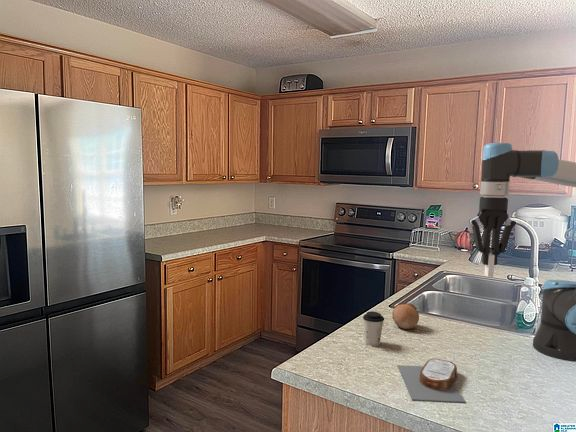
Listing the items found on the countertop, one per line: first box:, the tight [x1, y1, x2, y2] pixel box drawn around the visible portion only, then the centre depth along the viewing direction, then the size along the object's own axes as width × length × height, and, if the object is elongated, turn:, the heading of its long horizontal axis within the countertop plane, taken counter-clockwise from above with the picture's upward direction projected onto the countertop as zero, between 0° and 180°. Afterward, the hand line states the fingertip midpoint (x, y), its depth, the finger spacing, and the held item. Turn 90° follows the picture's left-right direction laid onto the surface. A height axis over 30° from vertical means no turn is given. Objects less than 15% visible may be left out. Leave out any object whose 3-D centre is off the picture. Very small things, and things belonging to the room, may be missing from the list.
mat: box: [397, 364, 466, 404], centre depth 116 cm, size 13×19×1 cm
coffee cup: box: [362, 310, 385, 347], centre depth 142 cm, size 7×7×10 cm
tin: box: [419, 358, 458, 390], centre depth 118 cm, size 15×3×8 cm
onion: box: [391, 302, 420, 330], centre depth 157 cm, size 10×9×10 cm
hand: (488, 275), depth 128 cm, fingers closed
